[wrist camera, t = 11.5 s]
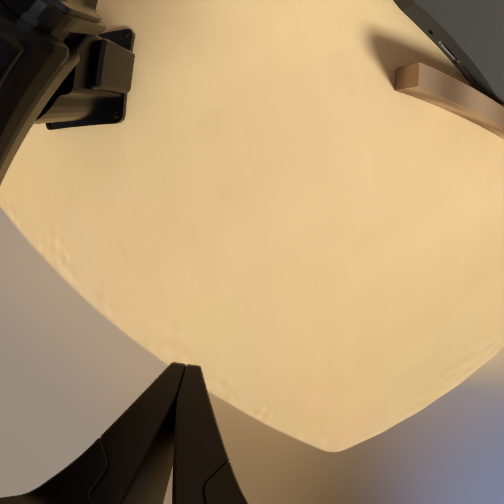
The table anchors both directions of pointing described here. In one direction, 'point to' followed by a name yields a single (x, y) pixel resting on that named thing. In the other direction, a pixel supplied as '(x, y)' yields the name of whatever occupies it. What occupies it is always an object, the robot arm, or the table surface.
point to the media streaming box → (466, 37)
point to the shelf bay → (450, 95)
